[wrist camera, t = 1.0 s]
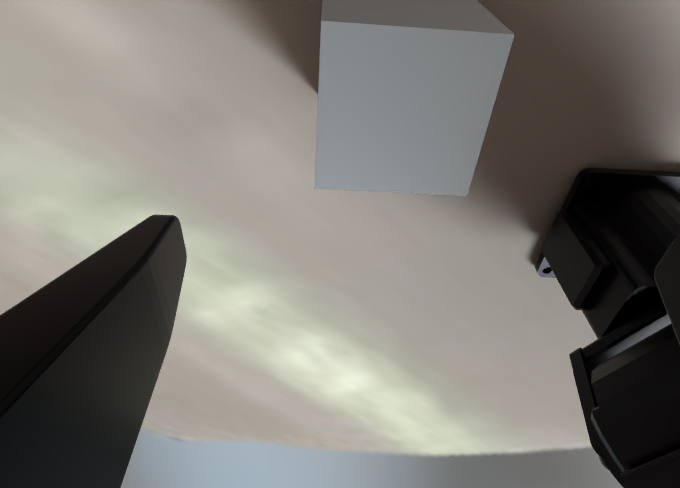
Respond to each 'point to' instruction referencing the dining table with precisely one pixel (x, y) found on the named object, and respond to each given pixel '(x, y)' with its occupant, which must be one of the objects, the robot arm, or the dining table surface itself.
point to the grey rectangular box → (406, 93)
